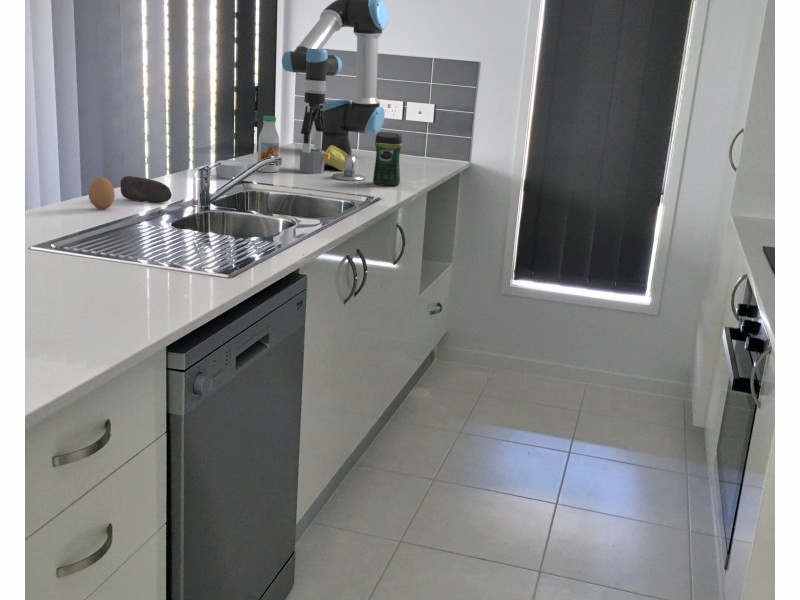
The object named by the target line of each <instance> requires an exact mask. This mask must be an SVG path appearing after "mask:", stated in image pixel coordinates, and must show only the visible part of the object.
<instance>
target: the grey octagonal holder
mask: <svg viewBox="0 0 800 600" xmlns="http://www.w3.org/2000/svg"><path fill="white" fill-rule="evenodd" d="M299 155H300V156H299V172H300V173H303V174H311V175H312V174H313V175H314V174H315V175H316V174H318V175H319V174H323V173H324V172H325V165H324V159H330V153H325V151H323V150H319V149H315V148H310V153H307V152H303V148H301V149H300V154H299Z"/></svg>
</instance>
